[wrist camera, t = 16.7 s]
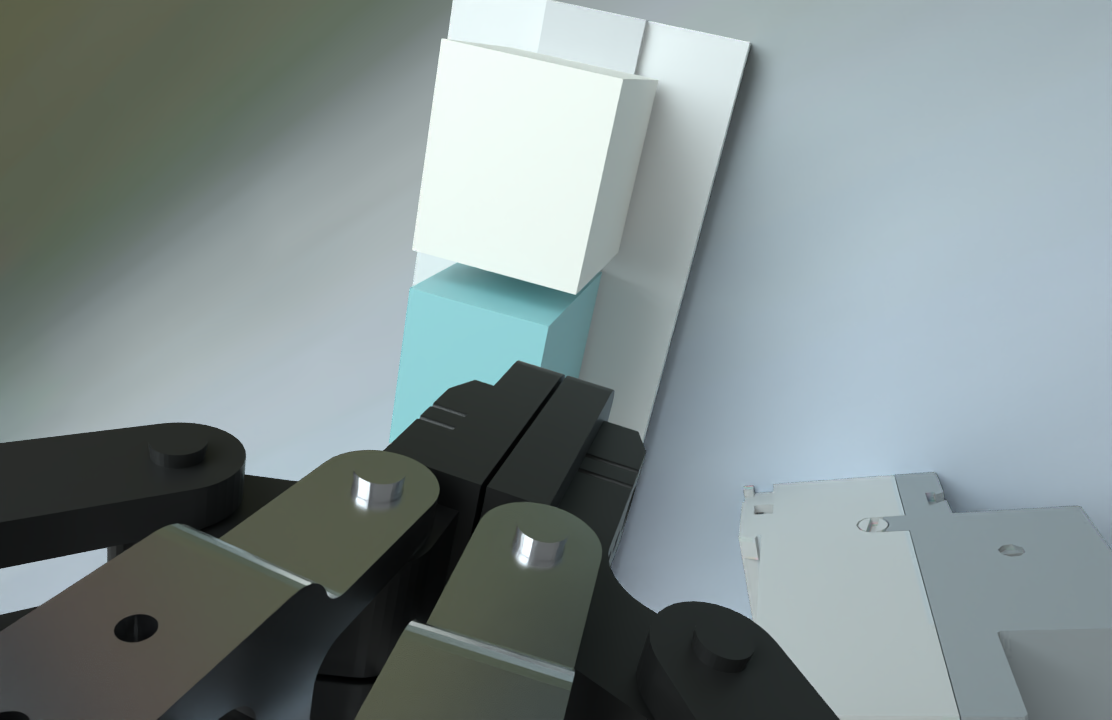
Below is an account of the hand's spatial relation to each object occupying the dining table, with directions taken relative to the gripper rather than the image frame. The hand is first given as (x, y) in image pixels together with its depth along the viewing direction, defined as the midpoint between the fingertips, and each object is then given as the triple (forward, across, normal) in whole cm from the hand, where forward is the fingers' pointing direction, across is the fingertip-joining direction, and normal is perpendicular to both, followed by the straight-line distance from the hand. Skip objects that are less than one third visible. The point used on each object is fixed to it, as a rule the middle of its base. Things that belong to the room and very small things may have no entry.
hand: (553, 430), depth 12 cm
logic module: (+22, +6, +7) cm, 24 cm away
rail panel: (+24, +6, +7) cm, 26 cm away
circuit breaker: (+24, -13, +13) cm, 30 cm away
